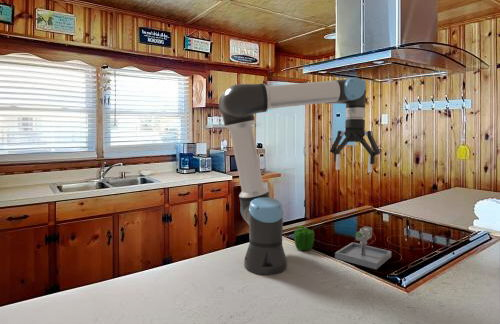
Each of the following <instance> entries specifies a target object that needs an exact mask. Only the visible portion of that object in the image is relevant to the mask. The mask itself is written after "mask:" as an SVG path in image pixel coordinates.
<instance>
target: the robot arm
mask: <svg viewBox="0 0 500 324" xmlns="http://www.w3.org/2000/svg"><path fill="white" fill-rule="evenodd" d="M366 99H367V82H366V80H365V79H362V78H359V77H349V78H346V79H336V80H335V79H334V80H323V81H313V82H311V81H310V82H300V83H289V84H277V85H266V83H238V84H234V85H231V86H229V88H227V89H226V90H225V91H224V92H222V94H221V95H220V98H219V100H218V108H219V112H220V113H221V115H222V119H223V126H224V127H225V128H226V129H227V130H229V134H230V139H231V143H232V149H233V154H234V158H235V159H234V160H235V163H236V168H237V172H238V176H239V177H238V178H239V183H240V188H241V192H239V195H238V197H239V202H240V210H239V211H240V214H241V216H242V219H243V220H244V221H245V222H246V224H247V225H248V226H249V227H248V228H249V234H248V236H249V239H248V240H249V243H248V248H247V250H246V254H245V257H244V261H243V263H244V264H243V265H244V268H245V269H246V270H247V271H249V272H250V273H254V274H257V275H275V274H280V273H282V272H284V271H286V270H287V268H288V259H287V257H286V253H285V250H284V246H283V229H284V228H283V227H284V226H283V225H284V223H283V222H284V221H283V220H284V208H283V204H282V202H281V201H280V200H278V199H275V198H273V197H271V196H270V192H269V189H268V188H267V187H265V185H264V181H263V177H262V172H261V171H262V170H261V166H260V162H259V155H258V151H257V145H256V141H255V136H254V131H253V124H254V122H255V121H256V119H255V114H259V113H267V112H268V111H269V110H270V109H271V110H272V109H277V108H278V109H279V108H289V107H297V106H298V107H299V106H306V105H307V106H308V105H316V104H326V105H328V104H344V105H345V118H346V119H345V126H344V128H345V130H344V131H343V130H338V131H337V136H336V137H335V140H334V142H333V143H332V146H331V147H330V149H329V152H330V153H331V154H333V162H335V170H336V171H338V170H341V159H342V158H341V151H342V150H343V149H344V148H345V147H346V146H347V144H348V143H349V142H350V143H353V142H355V143H360V144H361V145H362V146H363V147H364V149H365V150H366V152H367V153H368V154H369V155H368V156H367V173H368V174H369V173H372V172H373V165H375V162H376V161H375V160H376V156H378V155H380V154H381V151H380V149H379V146H378V145H377V142H376V140H375V137H374V135H373V130H367V131H366V130H365V127H366V125H365V123H366V120H365V119H364V118H366ZM344 136H345V138H344V139H343V140H342V138H343V137H344ZM365 136H366V137H367V139H368V141H369V143H368V142H367V141H366V139H365V138H364V137H365ZM341 140H342V142H341ZM369 144H370V145H369ZM371 147H372V148H371Z"/></svg>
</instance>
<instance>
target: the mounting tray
mask: <svg viewBox="0 0 500 324" xmlns="http://www.w3.org/2000/svg"><path fill="white" fill-rule="evenodd" d="M391 258H392V251H391V250H387V249H383V248H378V247H374V246H370V245H366V251H365V256H364V255H363V254H362V255H361V243H358V242H351V243H348V245H345V246H344V247H342V248H341V249H338V250H337V251H336V252H334V259H337V260H340V261H344V262H347V263H352V264H354V265H358V266H362V267H366V268H369V269H372V270H373V269H374V270H378V269H379V268H381V266H382V265H384V264H385V263H386V262H388V260H389V259H391Z"/></svg>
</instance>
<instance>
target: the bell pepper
mask: <svg viewBox="0 0 500 324" xmlns="http://www.w3.org/2000/svg"><path fill="white" fill-rule="evenodd" d="M293 239H294V244H295V245H294V246H295V248H296V249H297V250H298V251H311V250H312V249H313V247H314V243H315V232H314V230H313V229H309V228H308V227H305V226H304V225H301V224H300V225H298V226H297V229H296V230H294V232H293Z"/></svg>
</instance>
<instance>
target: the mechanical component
mask: <svg viewBox="0 0 500 324" xmlns="http://www.w3.org/2000/svg"><path fill="white" fill-rule="evenodd" d="M372 234H373V227H370V226H367V225H366V226H363V227H361V228H360V229H359V231H356V232H355V241H359V244H361V255H362V254H363V255H364V256H365V251H366V246H367V244H368V240H370V239H371V238H372V236H373V235H372Z"/></svg>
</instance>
